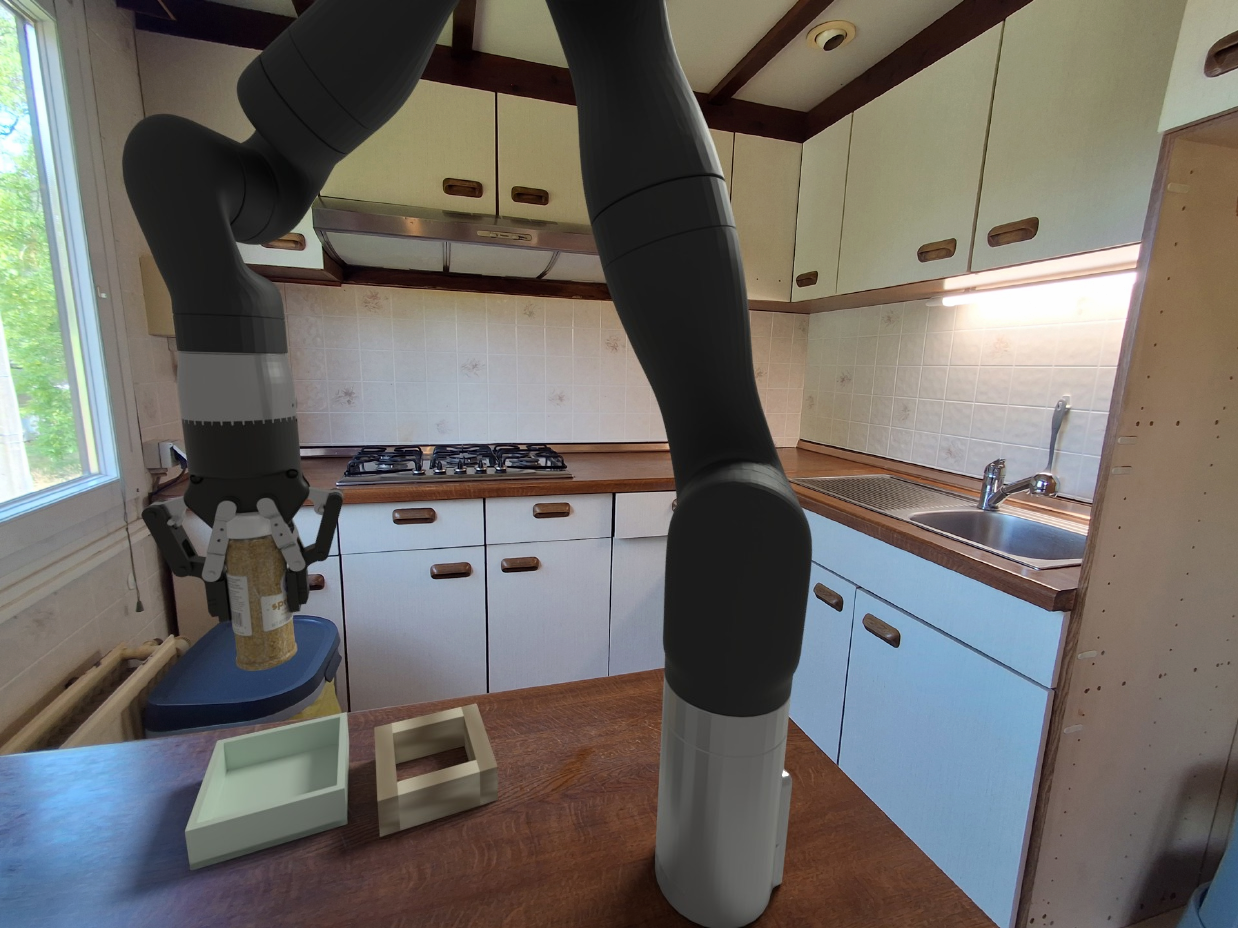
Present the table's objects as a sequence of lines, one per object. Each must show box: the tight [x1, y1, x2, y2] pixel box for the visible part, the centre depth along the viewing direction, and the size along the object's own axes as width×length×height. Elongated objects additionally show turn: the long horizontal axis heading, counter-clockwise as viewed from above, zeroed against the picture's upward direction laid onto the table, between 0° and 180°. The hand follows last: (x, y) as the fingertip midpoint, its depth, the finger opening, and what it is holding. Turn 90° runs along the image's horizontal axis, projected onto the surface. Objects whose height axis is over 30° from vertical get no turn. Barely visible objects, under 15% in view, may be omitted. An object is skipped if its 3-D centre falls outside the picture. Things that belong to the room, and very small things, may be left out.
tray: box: [184, 711, 350, 872], centre depth 50 cm, size 11×11×4 cm
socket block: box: [373, 703, 499, 838], centre depth 52 cm, size 10×10×4 cm
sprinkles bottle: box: [221, 511, 298, 672], centre depth 46 cm, size 5×5×14 cm
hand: (262, 612), depth 46 cm, fingers closed on sprinkles bottle, 4 cm apart
